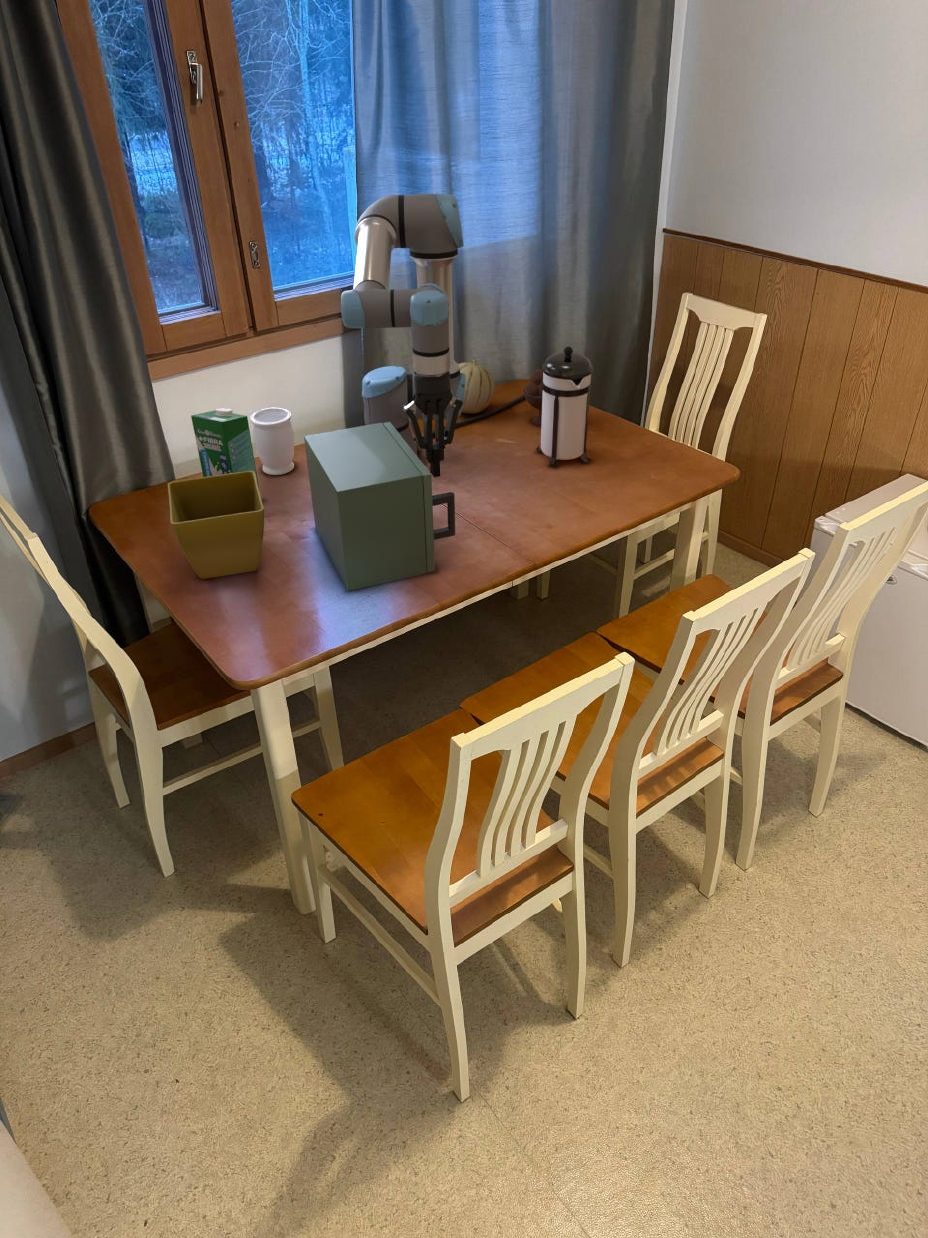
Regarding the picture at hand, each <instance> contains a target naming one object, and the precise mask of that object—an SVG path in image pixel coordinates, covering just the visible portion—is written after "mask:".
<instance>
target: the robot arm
mask: <svg viewBox="0 0 928 1238" xmlns="http://www.w3.org/2000/svg"><path fill="white" fill-rule="evenodd" d="M463 237H464V236H463V229H462V221H461V214H460V209H459V201H458V199H457V197H456V196H454V195H453V194H449V193H446V194H445V193H438V192H437V193H416V194H414V193H413V194H390V195H386V196H384V197H382V198H380V199H378V200H376V201H374V202H373V203H371V204H370V205H369V206H368V207H367V208H366V209H365V210H364V211H363V213H362V214H361V215H360V216H359V219H358V220H357V222H356V225H355V231H354V240H355V245H356V247H357V251H356V252H357V253H356V261H355V269H354V278H353V287H352V289H351V290H344V291H342V293H341V295H340V314H341V320H342V324H343V326H344V327H345V328H347V329H360V330H364V329H387V328H392V329H393V328H394V329H395V328H396V329H398V328H410V329H411V342H412V343H411V344H412V347H411V349H412V369H413V373H408V372H407V370H406V368H404V367H403V366H398V365H386V366H382V367H377V368H375V369H373V370H371V371H369V372H367V373H366V374H365V375H364V377H363V378H362V381H361V397H362V401H363V404H362V405H363V416H364V426H365V425H371V424H376V423H382V424H383V423H386V422H391V424H392V425H393V426H394V427H395V429H396V430H397V431H398V433H399V434H400V435H401V436H402V438H403V439H404V440H405V441H406V443H407V444H408V445H409V446H410V448H411V449H412V450H413V452H414V453H415V454H416V455H417V456H418V447H419V449H421V450H423V449H424V453H425V455H424V456H425V460H426V462H427V463H428V464H429V469H430V470H429V472H430V473H431V476H432V478H439V477H440V478H441V477H442V476H441V475H442V474H441V462H442V461H444V459H445V449H446V446H447V445H451V444H452V443H453V439H454V435H455V430H456V427H459V426H462V425H465V424H468V423H472V422H475V421H477V420H481V419H484V418H486V417H489V416H491V415H495V414H497V413H499V412H501V411H503V410H506V409H507V408H510V407H511V406H513V405H515V404H517V403H519V402H520V401H522V400H524V399H526V398H525V396H524V394H522V395H521V396H519V397H517V398H515V399H513V400H511V401H509V402H508V403H505V404H503V405H502V406H500V407H499V406H498V408H494V409H493V410H490V411H487V412H484V413H483V414H479V415H476V416H473V417H470V418H467V419H464V420H461V421H457V420H458V418H460V416H461V415H462V408H463V402H464V393H465V379H466V376H465V374H464V373H462V372H460V366H459V365H458V364H459V363H458V362H457V361H456V360H455V356H454V355H455V354H454V353H455V352H454V350H455V349H454V309H453V305H454V304H453V262H454V260H455V259H457V258H458V256H459V249H461V248H463V247H464V245H465V244H464V238H463ZM394 249H409V258H410V259H411V260H412V261H414V263H415V266H416V267H415V268H416V288H405V289H402V288H401V289H399V288H397V289H394V288H393V289H390V277H391V263H392V253H393V251H394ZM419 420H421V421H422V420H423V423H422V424H423V435H422V431H421V428H420V424H419ZM433 420H434V430H433ZM444 421H446V422H444ZM410 427H411V428H410ZM411 430H412V431H411ZM434 436H435V444H434V442H433V441H434ZM417 446H418V447H417Z"/></svg>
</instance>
